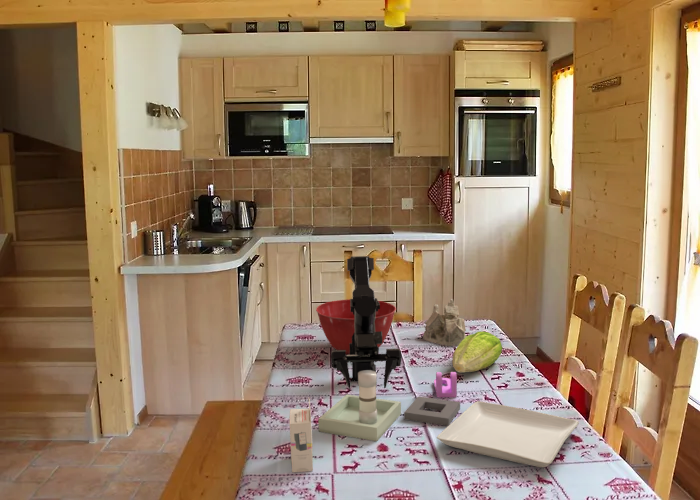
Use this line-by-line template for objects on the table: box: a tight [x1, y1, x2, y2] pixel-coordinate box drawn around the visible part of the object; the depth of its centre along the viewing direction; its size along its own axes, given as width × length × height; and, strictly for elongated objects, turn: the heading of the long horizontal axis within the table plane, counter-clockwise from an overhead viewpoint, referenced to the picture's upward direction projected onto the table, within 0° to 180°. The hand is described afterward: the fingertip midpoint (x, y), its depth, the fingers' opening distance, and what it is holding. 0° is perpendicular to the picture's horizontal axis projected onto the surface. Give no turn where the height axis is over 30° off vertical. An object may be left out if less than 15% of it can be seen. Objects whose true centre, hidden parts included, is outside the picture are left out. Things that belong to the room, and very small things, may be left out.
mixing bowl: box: [315, 298, 397, 355], centre depth 238 cm, size 28×28×15 cm
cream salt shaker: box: [357, 370, 378, 425], centre depth 173 cm, size 5×5×13 cm
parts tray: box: [318, 394, 402, 442], centre depth 175 cm, size 16×18×4 cm
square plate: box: [436, 401, 580, 468], centre depth 163 cm, size 27×27×4 cm
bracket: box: [433, 371, 458, 398], centre depth 197 cm, size 13×6×7 cm, turn 178°
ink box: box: [288, 398, 314, 473], centre depth 152 cm, size 9×5×15 cm, turn 5°
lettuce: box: [452, 330, 503, 373], centre depth 215 cm, size 12×24×13 cm
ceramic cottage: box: [422, 298, 468, 347], centre depth 247 cm, size 16×16×15 cm
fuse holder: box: [403, 396, 461, 427], centre depth 180 cm, size 12×12×2 cm
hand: (367, 387), depth 174 cm, fingers open, 9 cm apart
